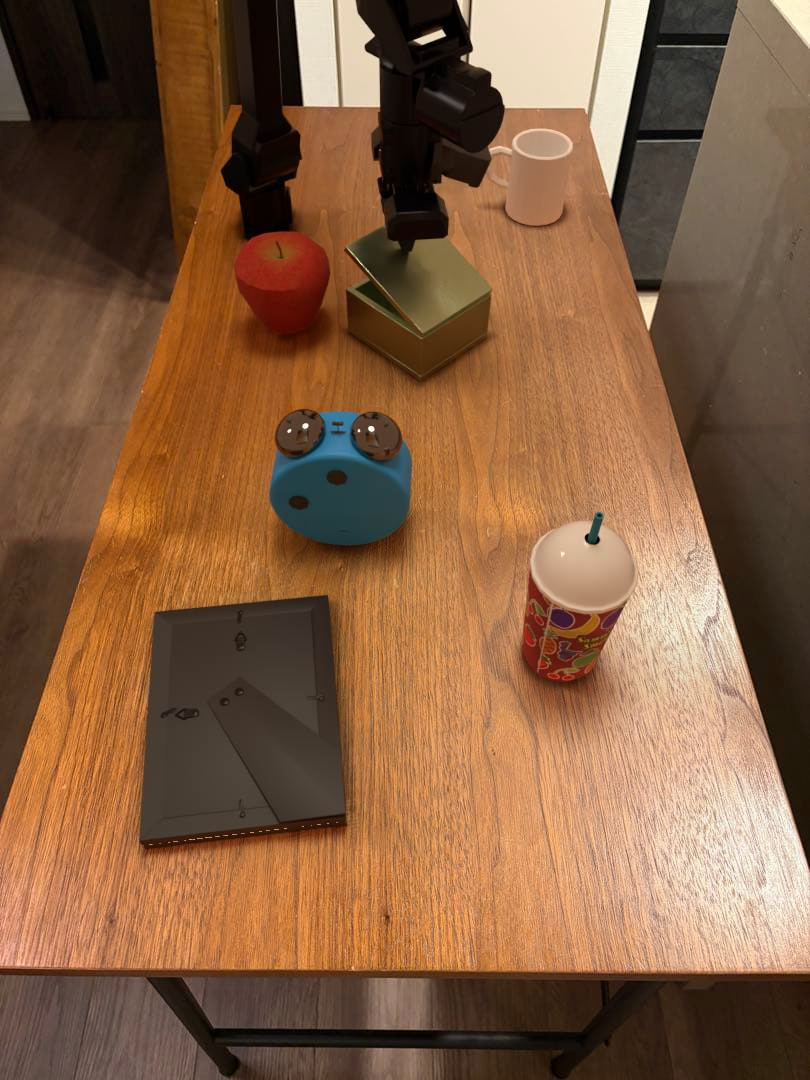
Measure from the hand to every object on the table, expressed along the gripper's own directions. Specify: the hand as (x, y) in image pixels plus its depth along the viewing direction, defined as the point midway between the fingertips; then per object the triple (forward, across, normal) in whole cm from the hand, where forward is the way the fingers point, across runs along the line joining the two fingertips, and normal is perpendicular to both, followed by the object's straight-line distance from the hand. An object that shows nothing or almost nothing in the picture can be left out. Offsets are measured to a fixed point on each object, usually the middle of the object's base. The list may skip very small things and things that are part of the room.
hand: (406, 250), depth 96 cm
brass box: (+11, -2, -1) cm, 11 cm away
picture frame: (+11, -51, +20) cm, 55 cm away
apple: (+11, +2, +14) cm, 18 cm away
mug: (+11, +24, -19) cm, 33 cm away
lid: (+2, -2, -1) cm, 3 cm away
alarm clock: (+11, -31, +10) cm, 34 cm away
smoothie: (+11, -48, -8) cm, 50 cm away
